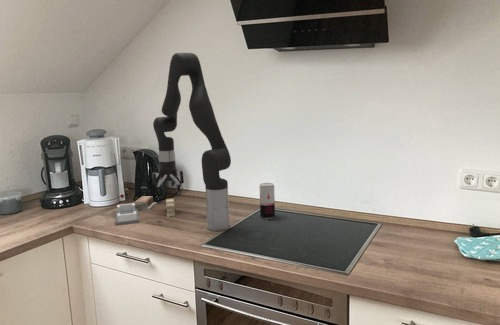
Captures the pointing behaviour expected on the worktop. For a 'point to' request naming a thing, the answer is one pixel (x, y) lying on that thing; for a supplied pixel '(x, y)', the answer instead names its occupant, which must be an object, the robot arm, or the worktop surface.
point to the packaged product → (145, 203)
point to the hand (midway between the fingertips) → (168, 193)
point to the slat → (170, 207)
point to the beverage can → (267, 200)
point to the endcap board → (126, 214)
